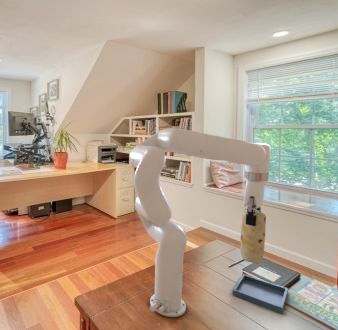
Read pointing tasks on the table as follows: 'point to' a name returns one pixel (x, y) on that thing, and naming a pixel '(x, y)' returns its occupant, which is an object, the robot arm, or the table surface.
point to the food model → (253, 238)
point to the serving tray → (261, 293)
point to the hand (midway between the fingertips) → (253, 222)
